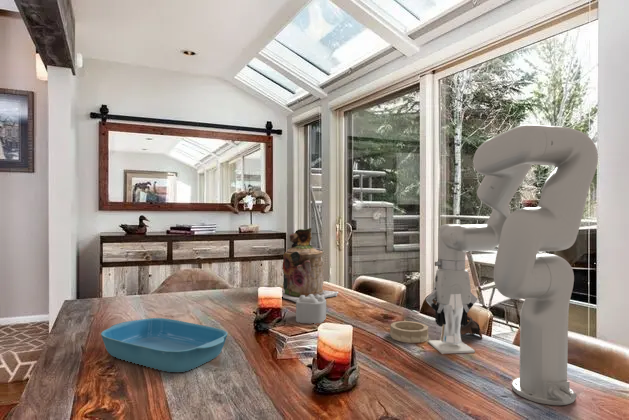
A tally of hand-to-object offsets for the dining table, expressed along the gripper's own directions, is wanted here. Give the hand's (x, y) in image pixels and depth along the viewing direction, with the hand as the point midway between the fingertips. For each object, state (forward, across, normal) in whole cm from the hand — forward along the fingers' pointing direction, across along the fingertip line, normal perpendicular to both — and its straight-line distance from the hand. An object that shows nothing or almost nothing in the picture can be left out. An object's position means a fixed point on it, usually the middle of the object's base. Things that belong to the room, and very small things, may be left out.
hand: (451, 324), depth 127 cm
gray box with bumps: (+7, -38, +36) cm, 53 cm away
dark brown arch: (+7, +10, +10) cm, 16 cm away
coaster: (+7, 0, 0) cm, 7 cm away
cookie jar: (+7, -37, +76) cm, 85 cm away
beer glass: (+5, 0, 0) cm, 5 cm away
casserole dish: (+7, -83, +1) cm, 83 cm away
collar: (+7, -9, +11) cm, 16 cm away
